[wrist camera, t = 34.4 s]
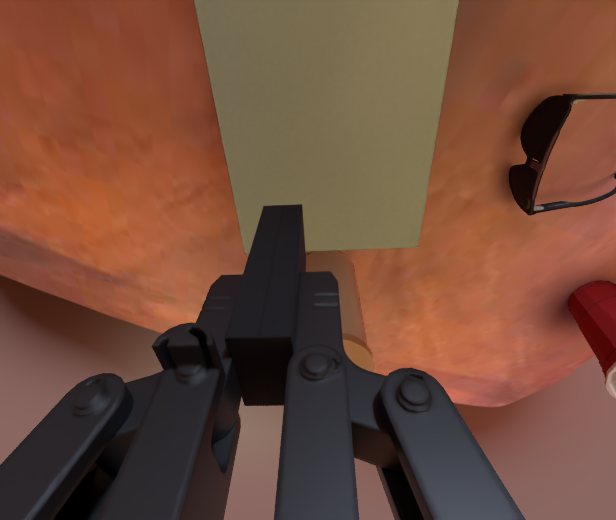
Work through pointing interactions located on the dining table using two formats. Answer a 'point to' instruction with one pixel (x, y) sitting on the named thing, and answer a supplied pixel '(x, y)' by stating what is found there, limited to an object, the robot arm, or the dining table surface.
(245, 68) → the box lid
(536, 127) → the sunglasses
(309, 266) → the canister
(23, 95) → the dining table surface
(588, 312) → the plastic cup
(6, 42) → the dining table surface
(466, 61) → the dining table surface
